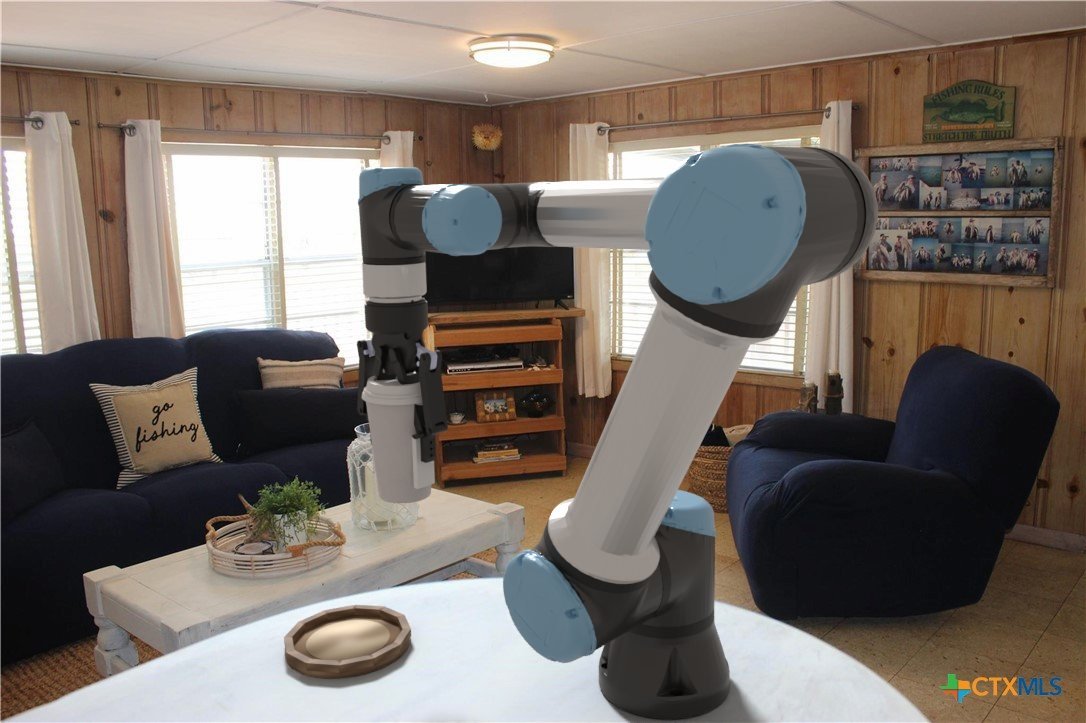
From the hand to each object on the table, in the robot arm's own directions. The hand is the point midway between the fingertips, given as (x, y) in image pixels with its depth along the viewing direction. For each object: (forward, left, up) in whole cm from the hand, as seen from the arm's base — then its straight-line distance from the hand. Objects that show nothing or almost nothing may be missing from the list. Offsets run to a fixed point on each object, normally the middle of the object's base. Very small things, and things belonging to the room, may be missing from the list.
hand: (403, 477), depth 113 cm
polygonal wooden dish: (+5, +6, -22) cm, 23 cm away
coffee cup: (0, 0, -2) cm, 2 cm away
